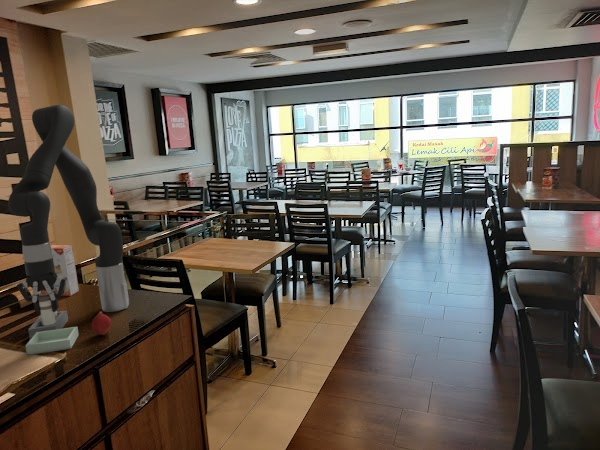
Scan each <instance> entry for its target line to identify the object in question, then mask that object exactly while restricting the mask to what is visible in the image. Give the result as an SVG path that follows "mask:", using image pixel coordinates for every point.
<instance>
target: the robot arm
mask: <svg viewBox="0 0 600 450" xmlns="http://www.w3.org/2000/svg"><path fill="white" fill-rule="evenodd" d="M31 120H32V125H33V127H34V130H35V131H36V133H37V135H38V136H39V139H40V140H41V141H42V143H41V144H40V145H39V146H38V147H37V149H36V150H35V151H34V152H33V154H32V155H31V156H30V158H29V160H28V162H27V164H26V167H25V171H24V174H23V176H22V178H21V179H20V180H19V182H18V183H17V184H16V186H15V187H14V188H13V190H12V192H11V194H10V195H9V196H8V197H9V198H8V200H7V202H8V203H7V204H8V205H7V206H8V210H9V211H10V213H11V214H12V215H15V216H16V217H30V216H32V219H31V222H29V223H25V224H23V225H21V226H20V228H19V234H20V239H21V245H22V260H23V263H24V269H25V276H26V279H25V280H24V281H20V282H18V284H17V285H16V288H17V289H18V292H20V294H21V295H22V297H23V298H24V300H25V301H26V302H31V303H33V308H34V311H35V313H37V315H39V314H40V315H41V312H40V307H39V301H38V296H39V295H41V291H42V290H44V291H47V293H48V294H49V295H50V298H51V305H52V311H53V312H56V311H57V312H58V310H59V308H60V307H59V306H60V305H59V298H62V297H63V296H62V295H63V294H64V290H65V286H66V283H67V277H64V278H61V277H58V276H57V275H56V273H55V267H54V261H53V255H52V249H51V246H50V245H51V242H50V237H49V231H48V225H49V217H50V211H51V201H50V199H49V197H48V195H47V194H46V193H45V192H43V191H44V190H46V189H48V187H49V185H50V183H51V180H52V177H53V173H54V170H55V167H56V169H57V171H58V173H59V175H60V177H61V179H62V181H63V184H64V186H65V189H66V191H67V192H68V194H69V195H70V198H71V200H72V202H73V205H74V207H75V210H76V211H77V213H78V215H79V218H80V220H81V224H82V227H83V230H84V232H85V235H86V237H87V240H88V241H89V242H90V243H91V244H93V245H95V246H98V247H99V255H98V256H96V257H95V259H94V264H95V271H96V276H97V277H96V278H97V283H98V290H99V298H100V304H101V311H102V312H105V313H111V312H112V313H114V312H119V311H122V310H125V309H128V308H129V304H130V298H129V293H128V292H129V291H128V285H127V280H126V278H125V271H124V270H125V269H124V264H123V257H124V245H123V244H124V243H123V242H124V241H123V235H122V234H123V233H122V230H121V227H120V226H119V224H117V223H116V222H113V221H107V220H106V221H105V220H104V218H103V216H102V214H101V212H100V210H99V206H98V201H97V200H98V199H97V194H98V193H97V190H98V189H97V184H96V181H95V178H94V177H93V174H92V172H91V171H90V168H89V167H88V165H86V163H84V161H83V160H81V159H80V158H79V157H77V155H76V154H74V153H73V152H72V151H70V150H69V148H68V147H67V145H66V143H67V142H68V141H67V140H69V137H70V136H71V134H72V131H73V129H74V127H75V117H74V114H73V112H72V111H71V109H70V108H69V107H67V106H66V105H63V104H54V105H50V106H45V107H41V108H37V109H35V110H34V111H32V114H31ZM56 280H57V281H58V284H59V285H60V286H59V290H58V293H56V291H55V287H54V284H55V282H56ZM28 286H29V287H30V288H31V289H32V292H31V291H30V290H29V289H28Z"/></svg>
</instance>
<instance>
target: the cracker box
mask: <svg viewBox="0 0 600 450" xmlns="http://www.w3.org/2000/svg"><path fill="white" fill-rule="evenodd" d="M50 246H51V249H52V255H53V261H54V267H55V273H56V275H57V276H58V277H61V278H64V277H67V283H66V286H65V290H64V294H63V295H62V296H61V297H71V296H74V295H75V294H77V293H79V292H80V288H79V281H78V276H77V275H78V274H77V270H76V269H77V268H76V264H75V258H74V256H75V255H74V250H73V245H72V244H65V245H64V244H56V245H55V244H53V245H51V244H50ZM59 286H60V285H59V284H58V281H57V280H56V282H55V284H54V287H55V291H56V293H58V290H59ZM46 293H47V291H44V290H42V291H40V295H42V294H46Z"/></svg>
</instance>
